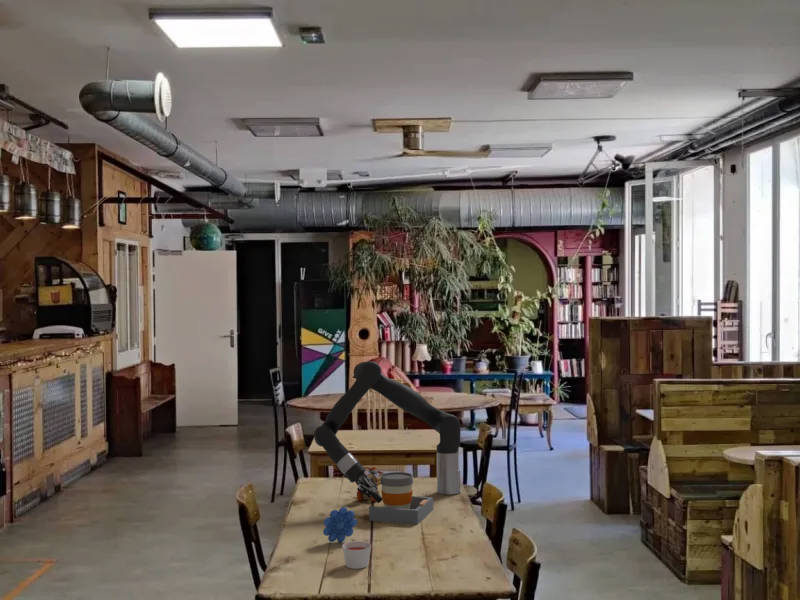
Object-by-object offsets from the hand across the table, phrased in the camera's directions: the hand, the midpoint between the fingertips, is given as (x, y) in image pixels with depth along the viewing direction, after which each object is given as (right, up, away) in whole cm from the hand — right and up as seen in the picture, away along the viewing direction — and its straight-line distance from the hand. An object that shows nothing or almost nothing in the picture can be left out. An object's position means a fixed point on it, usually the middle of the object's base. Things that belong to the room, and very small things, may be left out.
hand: (380, 501), depth 316 cm
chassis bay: (+8, -5, -3) cm, 10 cm away
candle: (-6, -6, -59) cm, 60 cm away
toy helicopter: (-3, -5, +25) cm, 26 cm away
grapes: (-13, -6, -34) cm, 37 cm away
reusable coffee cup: (+6, -5, -2) cm, 8 cm away
